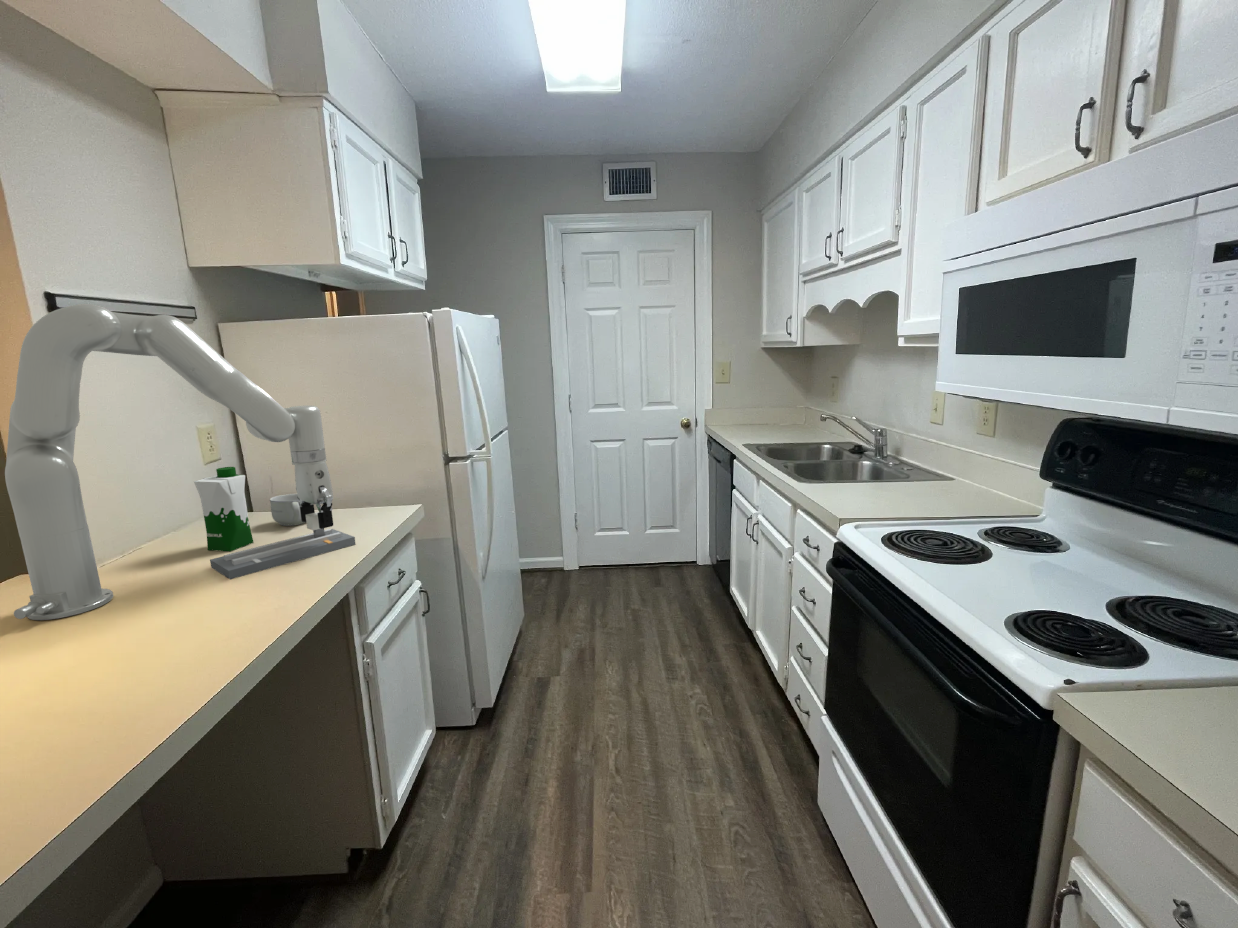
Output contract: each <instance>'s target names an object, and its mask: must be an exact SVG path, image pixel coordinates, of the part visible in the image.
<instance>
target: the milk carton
mask: <svg viewBox="0 0 1238 928" xmlns="http://www.w3.org/2000/svg"><path fill="white" fill-rule="evenodd" d="M215 471H216V475H213V476H209V477H204V478H202V479H199V480H194V481H193V483H194V485H195V488H196V490H197V493H198V495H199V498H200V503H201V507H202V514H203V519H204V526H205V531H206V542H207V544H206V546H207V551H212V552H227V553H228V552H229V553H232V552H233V551H235V550H238V549H241V548H244V547H246V546H248V545H251V544H254V537H253V533H252V530H251V525H250V521H249V520H250V519H249V514H248V508H247V502H246V500H247V499H246V495H245V484H246V475H245V474H237V470H236V466H225V467H224V466H223V467H218V468H216V470H215Z"/></svg>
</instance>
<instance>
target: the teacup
mask: <svg viewBox="0 0 1238 928" xmlns="http://www.w3.org/2000/svg"><path fill="white" fill-rule="evenodd" d="M297 496H298V495H297V493H287V494H283V495H282V494H281V495H276V496H272V497H270V498H269V502H270V512H271V517H272V519H273V521H275V523H278V524H279V525H281V526H286V527H287V526H291V527H292V526H298V525H303V524H305V523H306V522H302V520H301V512H300V506H299V499H298V498H297ZM310 505H312V504H310ZM301 507H302V506H301ZM306 524H307V523H306Z"/></svg>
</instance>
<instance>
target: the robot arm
mask: <svg viewBox="0 0 1238 928" xmlns="http://www.w3.org/2000/svg"><path fill="white" fill-rule="evenodd" d="M91 352H99V353H100V352H101V353H102V352H103V353H111V354H123V355H131V356H132V355H133V356H134V355H135V356H142V357H143V356H145V357H157V358H158V359H160V360H161V361H162V362H163V363H165V364H166V365H167V366H169V367H170V368H171V369H172V370H173V371H175V372H176V374H178V375H179V376H181V377H182V378H183V379H184V380H185V381H186V382H187V383H189V384H190V385H191V386H192V387H193V388H194V389H196V390H197V391H198V392H200V393H201V394H203V395H204V396H206V397H207V398H209V399H211V400H212V401H215V402H216V403H219V404H221V405H223V406H225V407H226V408H228V410H230V411H232V412H233V413H234V414H235V415H237V416H238V417H239V418H241V419H242V420H244V422H245V426H246V428H247V430H248V432H249V434H251V435H252V436H254V437H256V438H257V439H261V440H263V441H264V440H265V441H268V442H271V443H282V442H285V441H286V440H288V443H289V451H290V458H291V459H290V460H291V464H292V465H293V466H294V477H295V478H294V481H295V491H296V494H297V495H298V496H297V498H298V499H299V506H300V512H301V520H302V522H306V515H307V514H311V513H315V512H316V511H315V506H316V509H317V510H318V511H317V512H319V513H317V514H318V522H319V528H320V529H323V528H324V529H327V528H331V527H333V526H334V518H333V500H334V493H333V486H332V482H331V476H330V470H329V468H328V465H327V453H326V448H325V445H326V444H325V437H324V436H325V435H324V430H323V422H322V415H321V414H322V413H321V410H320V408H319V407H318V406H316V405H297V406H296V405H295V406H291V407H283V406H282V404H280V403H279V402H278V401H276V400H275V399H274V398H273V397H272V395H270V394H269V393H267V392H266V391H265V390H264V389H263V388H261V387H260V386H259V385H258V384H256V383H255V382H253V381H252V380H251V379H250V378H249V377H247V376H246V375H245V374H244V373H243V372H242V371H240V370H239V369H237V368H236V367H235V366H233V364H231V363H230V362H229V361H228V360H227V359H226V358H224V356H222V355H221V354H220V353H219V352H218V351H216V350H215V349H214V348H213V347H212V346H211V345H210V344H209V343H208V342H207V341H205V339H204V338H202V337H201V336H200V335H198V334H197V333H196V332H195V331H194V330H193V329H192V328H191V327H190V326H189V325H188V324H186V323H185V322H184V321H182V320H180V319H179V318H177V317H175V316H173V315H168V314H158V315H153V316H152V315H151V316H150V315H149V316H147V315H140V314H139V315H138V314H130V313H129V314H128V313H124V312H123V313H122V312H114V311H112V310H110V309H108V308H106V307H105V306H102V305H98V304H95V303H94V304H93V303H79V304H73V305H69V306H64V307H61V308H57V309H55V310H53V311H51V312H48V313H47V314H45V315H44V316H42V317H41V318H39V319H38V320H37V321H36V322H35V323H34V324H33V325H32V326H31V327H30V329H28V331H27V333H26V335H25V337H24V339H23V341H22V345H21V348H20V352H19V353H20V354H19V359H18V360H19V361H18V369H17V374H16V385H15V393H14V400H13V402H12V404H11V406H10V412H9V422H8V434H7V447H6V462H5V467H4V476H5V477H4V478H5V479H4V480H5V484H6V489H7V493H8V496H9V501H10V504H11V507H12V510H13V514H14V520H15V523H16V527H17V531H18V536H19V539H20V543H21V547H22V552H23V556H24V560H25V564H26V569H27V572H28V573H27V574H28V577H29V581H30V586H31V589H32V593H33V594H31V595H29V599H30V601H28V603H27V604H26V605H23V606H21V607H19V608H16V609H15V610H14V611H13V616H14V618H16V619H18V620H23V619H25V618H27V619H29V620H32V621H33V620H34V621H49V620H56V619H57V620H58V619H62V618H63V619H64V618H67V617H71V616H76V615H79V614H83V613H86V612H89V611H92V610H94V609H97V608H100V607H102V606H103V605H106V604H108V603H109V602H110V601H111V600H112V599H113V598H114V593H113V590H112V589H110V588H109V589H108V588H102V585H101V580H100V577H99V575H100V574H99V571H98V567H97V562H96V556H95V553H94V547H93V542H92V538H91V533H90V528H89V524H88V520H87V515H86V511H85V507H84V505H85V504H84V500H83V496H82V495H83V494H82V489H81V483H80V477H79V472H78V468H77V466H76V464H75V461H74V455H75V444H76V443H75V442H76V432H77V427H78V425H79V423H80V418H81V414H80V392H81V391H80V390H81V381H82V376H83V375H82V373H83V365H84V362H85V360H86V358H87V357H88V355H89V354H90V353H91ZM310 504H312V505H310ZM301 506H302V507H301Z"/></svg>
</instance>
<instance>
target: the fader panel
mask: <svg viewBox="0 0 1238 928" xmlns="http://www.w3.org/2000/svg"><path fill="white" fill-rule="evenodd" d="M324 532H325V536H322V537H318V538H314V533H313V532H312V533H306V534H304V535H300V536H295V537H292V538H288V539H283V540H280V541H276V542H272V543H268V544H264V545H260V546H255V547H252V548H247V549H243V550H240V551H239V550H238V551H236V552H230V553H227V554H223V556H219V557H215V558H212V559H211V558H210V559H209V561H210V563H209V564H210V568H211V569H213V570H214V571H216V573H219V574H220V575H222V576H223V577H225V578H227V579H229V580H233V579H236V578H237V579H238V578H240V577H243V576H244V577H245V576H248V575H251V574H255V573H259V572H262V571H267V570H269V569H273V568H276V567H280V566H284V565H287V564H290V563H294V562H297V561H301V560H305V559H309V558H313V557H315V556H319V555H323V554H326V553H331V552H335V551H338V550H341V549H344V548H348V547H352V546H355V545H356V537H355V536H354V535H351V534H348V533H344V532H342V531H340V530H337V529H335V528H328V529H327V528H326V529H324Z"/></svg>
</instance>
